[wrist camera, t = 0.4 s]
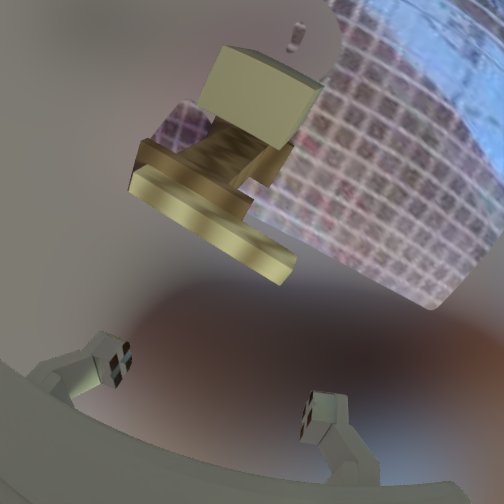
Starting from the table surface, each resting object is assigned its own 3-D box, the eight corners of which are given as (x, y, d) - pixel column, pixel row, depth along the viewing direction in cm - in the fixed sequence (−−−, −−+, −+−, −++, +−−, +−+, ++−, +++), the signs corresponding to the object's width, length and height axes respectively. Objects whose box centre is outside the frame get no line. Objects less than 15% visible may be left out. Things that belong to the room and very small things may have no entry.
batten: (297, 255, 37) (292, 270, 34) (285, 271, 38) (279, 285, 36) (147, 164, 36) (133, 172, 33) (142, 182, 38) (128, 191, 35)
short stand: (294, 145, 55) (254, 198, 34) (270, 185, 61) (221, 256, 40) (223, 105, 54) (143, 134, 34) (204, 146, 60) (126, 195, 40)
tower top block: (320, 88, 40) (315, 90, 34) (290, 138, 47) (279, 150, 40) (242, 48, 40) (223, 44, 34) (217, 99, 46) (195, 104, 40)
